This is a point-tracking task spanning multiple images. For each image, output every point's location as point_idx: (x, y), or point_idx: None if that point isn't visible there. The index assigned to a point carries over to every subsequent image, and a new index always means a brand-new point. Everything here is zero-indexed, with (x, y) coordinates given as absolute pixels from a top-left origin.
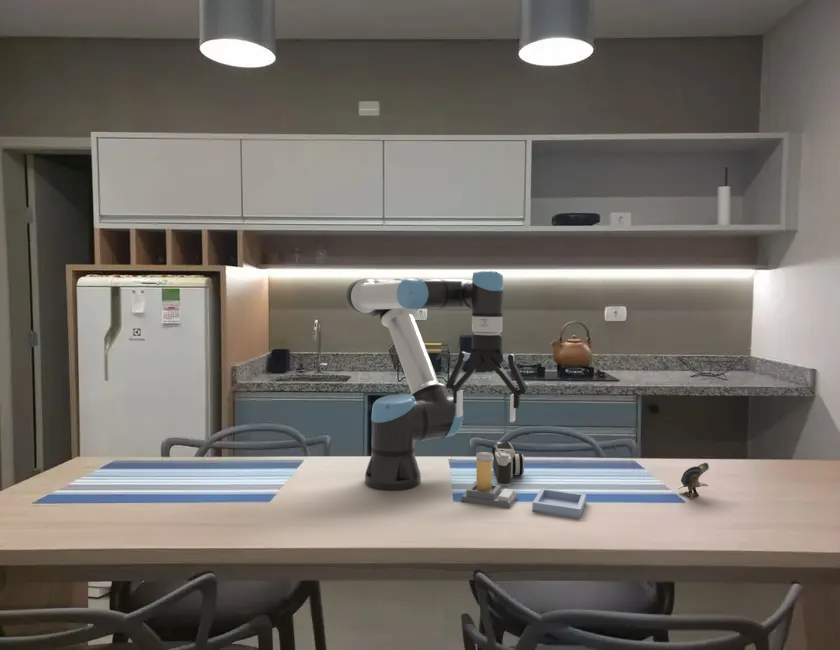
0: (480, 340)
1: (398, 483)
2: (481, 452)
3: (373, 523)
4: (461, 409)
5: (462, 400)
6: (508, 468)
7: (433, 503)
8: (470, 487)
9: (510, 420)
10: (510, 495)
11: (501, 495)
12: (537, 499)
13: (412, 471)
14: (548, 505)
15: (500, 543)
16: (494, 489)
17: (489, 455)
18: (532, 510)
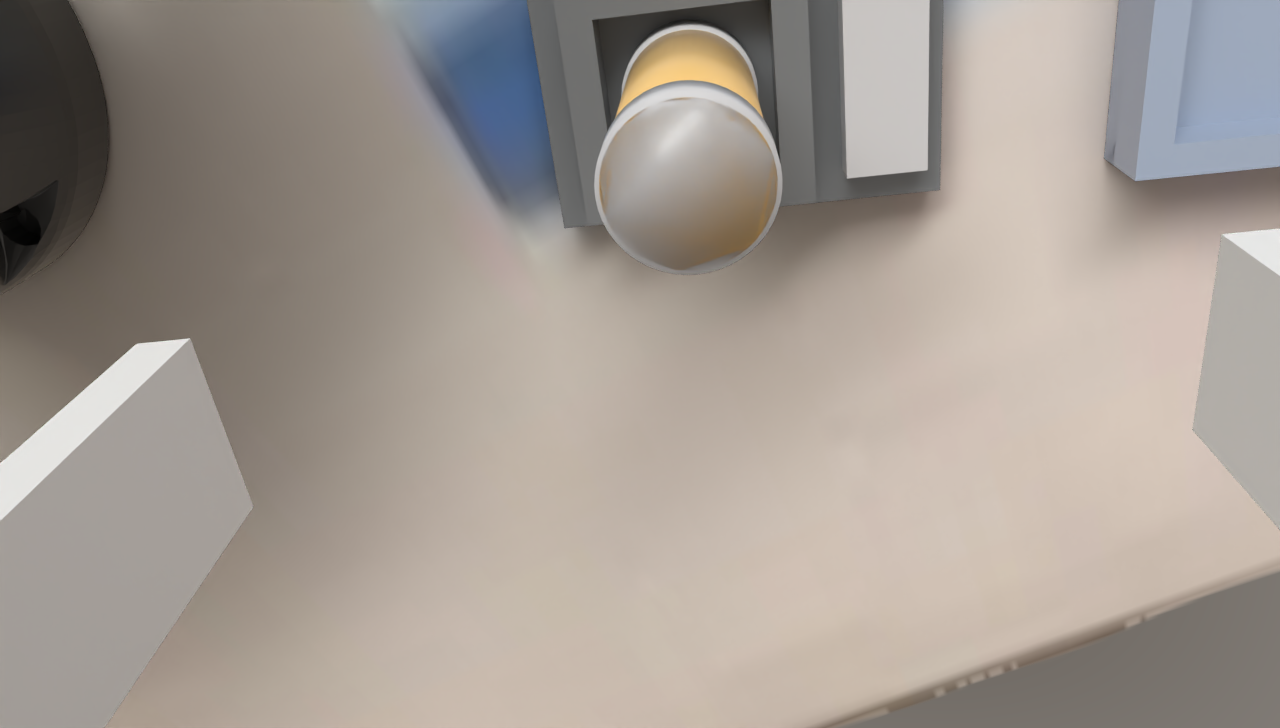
0: None
1: (41, 261)
2: (625, 132)
3: (333, 680)
4: (151, 471)
5: (17, 538)
6: None
7: (417, 322)
8: (586, 148)
9: (1221, 448)
10: (926, 88)
11: (865, 154)
12: (1169, 98)
13: (8, 150)
14: (1262, 165)
15: (992, 624)
16: (785, 95)
17: (756, 206)
18: (1110, 161)
